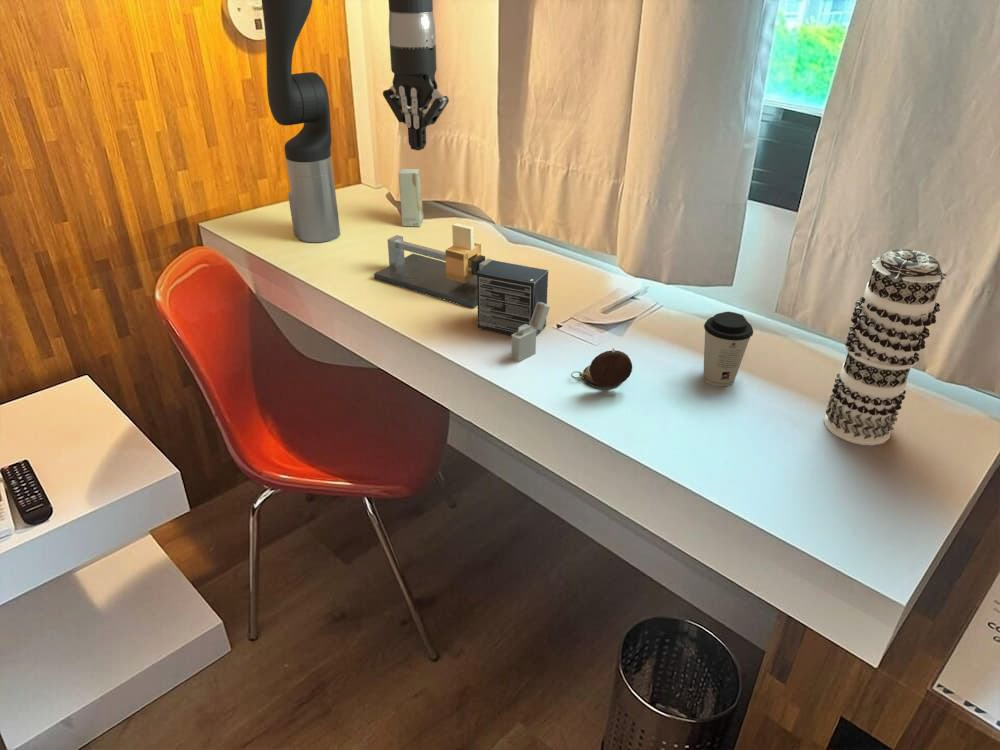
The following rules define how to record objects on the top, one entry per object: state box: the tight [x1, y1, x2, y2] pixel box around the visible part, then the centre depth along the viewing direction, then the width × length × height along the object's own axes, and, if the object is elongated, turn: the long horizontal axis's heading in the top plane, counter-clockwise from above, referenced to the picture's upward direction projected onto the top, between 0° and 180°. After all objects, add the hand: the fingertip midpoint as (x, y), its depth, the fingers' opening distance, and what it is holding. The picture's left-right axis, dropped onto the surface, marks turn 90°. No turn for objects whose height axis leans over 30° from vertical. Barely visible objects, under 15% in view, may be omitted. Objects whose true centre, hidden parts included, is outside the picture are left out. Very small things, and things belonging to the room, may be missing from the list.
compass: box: [570, 347, 633, 389], centre depth 107 cm, size 8×8×7 cm
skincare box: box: [398, 168, 424, 227], centre depth 163 cm, size 6×4×12 cm
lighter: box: [510, 302, 551, 363], centre depth 114 cm, size 7×2×8 cm, turn 135°
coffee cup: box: [702, 311, 754, 387], centre depth 107 cm, size 7×7×10 cm
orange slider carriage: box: [445, 223, 482, 283], centre depth 132 cm, size 4×6×10 cm
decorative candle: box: [823, 248, 947, 447], centre depth 93 cm, size 9×9×25 cm
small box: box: [476, 259, 549, 337], centre depth 121 cm, size 11×6×10 cm, turn 65°
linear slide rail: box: [373, 234, 493, 309], centre depth 137 cm, size 23×12×7 cm, turn 58°
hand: (417, 148), depth 127 cm, fingers closed
